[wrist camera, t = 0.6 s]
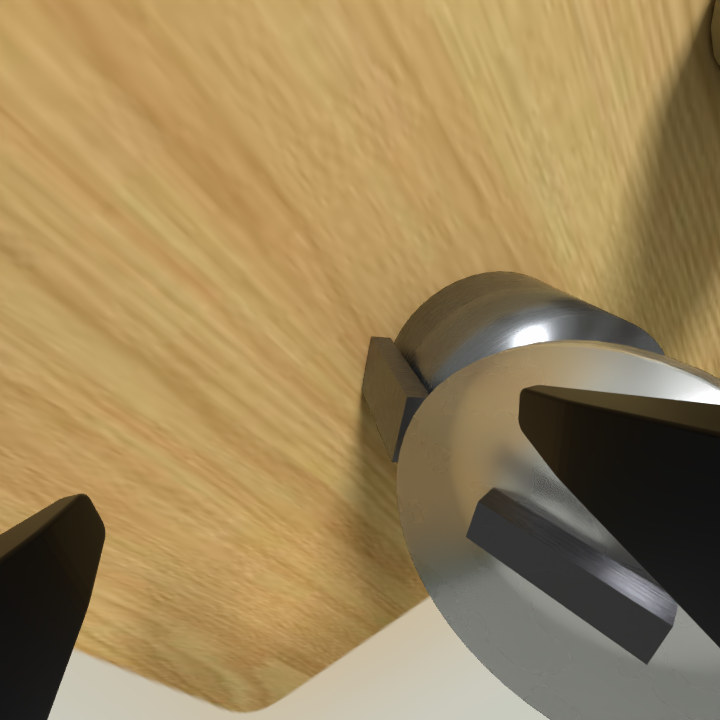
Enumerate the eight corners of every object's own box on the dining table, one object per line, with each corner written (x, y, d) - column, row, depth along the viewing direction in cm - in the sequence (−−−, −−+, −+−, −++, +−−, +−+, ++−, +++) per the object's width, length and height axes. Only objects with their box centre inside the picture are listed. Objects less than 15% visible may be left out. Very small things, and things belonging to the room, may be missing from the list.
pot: (349, 452, 24) (377, 544, 19) (386, 255, 20) (436, 298, 14) (537, 453, 27) (610, 534, 22) (604, 283, 23) (718, 327, 17)
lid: (386, 555, 19) (355, 581, 17) (455, 285, 14) (420, 291, 13) (720, 834, 12) (714, 915, 10) (1076, 491, 7) (1155, 554, 6)
